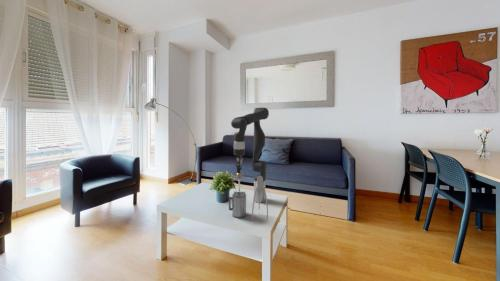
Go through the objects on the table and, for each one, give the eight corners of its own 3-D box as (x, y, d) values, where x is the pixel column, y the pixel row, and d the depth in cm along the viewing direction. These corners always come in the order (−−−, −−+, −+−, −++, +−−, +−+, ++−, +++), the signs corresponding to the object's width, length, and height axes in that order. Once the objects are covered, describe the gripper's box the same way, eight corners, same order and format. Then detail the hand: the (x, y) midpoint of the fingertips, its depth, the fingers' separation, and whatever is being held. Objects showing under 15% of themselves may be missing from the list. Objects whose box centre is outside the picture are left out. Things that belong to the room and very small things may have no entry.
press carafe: (245, 218, 138) (245, 196, 136) (228, 217, 138) (227, 196, 136) (246, 211, 147) (246, 191, 145) (230, 211, 148) (230, 191, 146)
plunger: (234, 196, 145) (234, 171, 142) (244, 196, 144) (244, 171, 142) (233, 200, 138) (233, 174, 136) (243, 200, 138) (243, 174, 135)
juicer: (266, 214, 144) (266, 172, 140) (267, 220, 135) (268, 176, 131) (251, 214, 143) (251, 172, 140) (252, 220, 134) (252, 176, 131)
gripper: (235, 146, 144) (235, 168, 146) (232, 149, 130) (232, 174, 132) (245, 146, 144) (245, 168, 146) (243, 149, 130) (243, 174, 132)
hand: (239, 171), depth 139 cm, fingers open, 8 cm apart
